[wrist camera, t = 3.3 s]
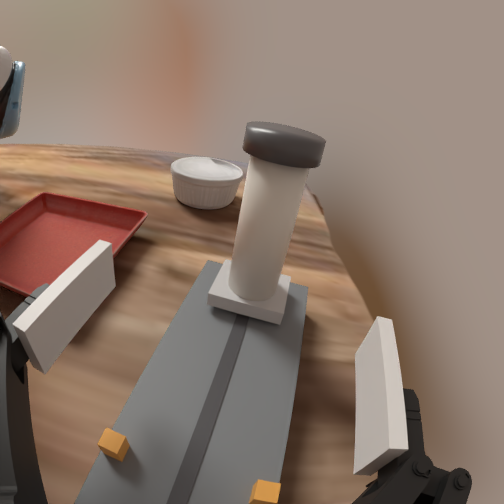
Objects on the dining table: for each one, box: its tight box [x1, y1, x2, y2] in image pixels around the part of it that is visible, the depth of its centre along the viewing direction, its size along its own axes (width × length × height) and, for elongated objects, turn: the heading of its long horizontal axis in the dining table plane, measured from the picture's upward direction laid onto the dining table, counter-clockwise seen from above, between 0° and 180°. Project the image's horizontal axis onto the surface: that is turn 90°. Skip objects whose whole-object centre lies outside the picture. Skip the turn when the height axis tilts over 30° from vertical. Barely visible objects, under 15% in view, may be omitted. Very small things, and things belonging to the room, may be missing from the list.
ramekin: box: [171, 157, 243, 209], centre depth 49 cm, size 11×11×5 cm
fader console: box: [74, 260, 308, 504], centre depth 20 cm, size 26×10×4 cm, turn 168°
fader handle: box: [207, 122, 326, 325], centre depth 23 cm, size 5×6×14 cm
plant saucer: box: [0, 192, 148, 297], centre depth 30 cm, size 18×18×3 cm
